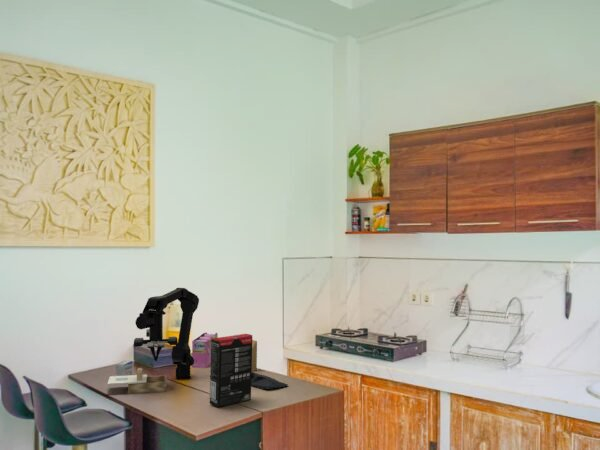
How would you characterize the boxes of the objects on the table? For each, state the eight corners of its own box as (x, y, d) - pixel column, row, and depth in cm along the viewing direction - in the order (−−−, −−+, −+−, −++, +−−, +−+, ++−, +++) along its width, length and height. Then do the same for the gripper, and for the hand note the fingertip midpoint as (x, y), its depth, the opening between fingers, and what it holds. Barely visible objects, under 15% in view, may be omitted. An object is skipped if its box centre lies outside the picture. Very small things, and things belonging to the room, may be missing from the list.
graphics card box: (242, 396, 249) (243, 332, 249) (253, 400, 244) (253, 334, 244) (209, 404, 237) (209, 337, 237) (219, 408, 232) (219, 340, 232)
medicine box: (124, 383, 268) (124, 364, 268) (115, 382, 269) (115, 364, 269) (132, 378, 276) (132, 360, 276) (124, 378, 277) (124, 360, 277)
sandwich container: (223, 374, 285) (223, 343, 285) (244, 367, 298) (244, 338, 298) (236, 377, 280) (236, 345, 280) (257, 370, 293) (257, 340, 293)
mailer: (166, 384, 267) (166, 375, 267) (166, 391, 255) (166, 382, 255) (129, 386, 263) (129, 377, 263) (128, 393, 252) (128, 384, 251)
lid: (147, 375, 265) (147, 366, 265) (146, 382, 253) (146, 373, 253) (110, 377, 261) (110, 368, 261) (107, 385, 250) (107, 375, 250)
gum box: (204, 356, 322) (205, 332, 321) (218, 357, 321) (219, 332, 320) (191, 367, 298) (191, 340, 298) (206, 368, 297) (206, 341, 297)
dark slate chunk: (264, 393, 254) (264, 382, 254) (236, 382, 271) (236, 372, 271) (291, 387, 264) (291, 377, 264) (263, 377, 281) (263, 367, 281)
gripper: (177, 322, 270) (176, 356, 270) (135, 323, 266) (134, 357, 266) (177, 326, 259) (177, 361, 259) (133, 327, 255) (133, 363, 255)
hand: (155, 360), depth 260 cm, fingers closed
